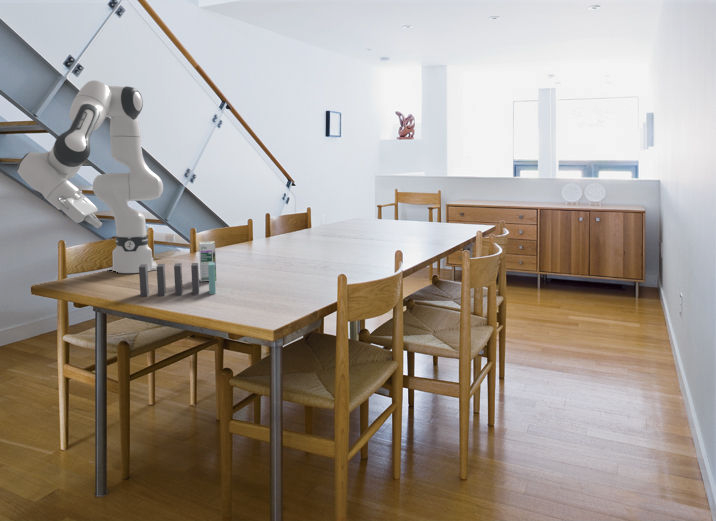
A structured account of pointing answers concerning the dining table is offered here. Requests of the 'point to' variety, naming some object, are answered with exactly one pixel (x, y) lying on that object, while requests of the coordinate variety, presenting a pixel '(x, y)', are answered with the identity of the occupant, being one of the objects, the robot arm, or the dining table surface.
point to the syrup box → (206, 259)
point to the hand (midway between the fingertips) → (100, 226)
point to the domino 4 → (195, 278)
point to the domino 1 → (143, 280)
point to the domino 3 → (178, 279)
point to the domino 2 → (161, 279)
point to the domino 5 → (212, 278)
